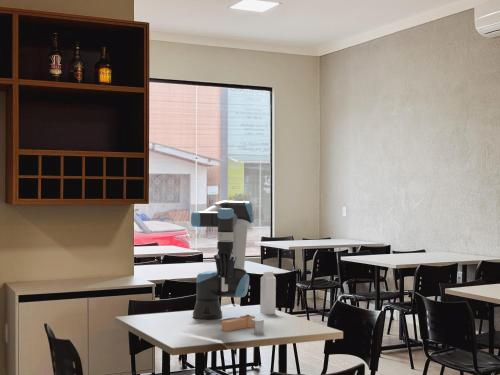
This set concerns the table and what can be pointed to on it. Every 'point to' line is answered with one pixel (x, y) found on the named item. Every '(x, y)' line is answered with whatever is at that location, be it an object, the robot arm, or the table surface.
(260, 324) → the cylinder
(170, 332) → the table surface
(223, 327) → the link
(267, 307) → the milk
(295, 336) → the table surface
